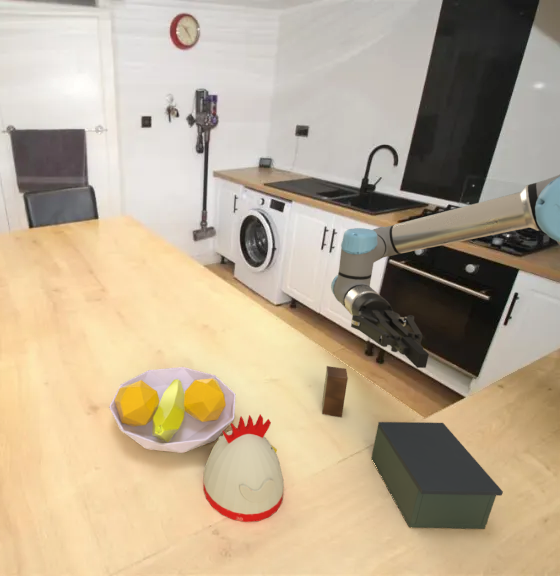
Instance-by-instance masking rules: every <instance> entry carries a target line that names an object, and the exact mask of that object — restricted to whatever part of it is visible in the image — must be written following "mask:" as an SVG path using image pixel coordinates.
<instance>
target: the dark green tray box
mask: <svg viewBox="0 0 560 576" xmlns="http://www.w3.org/2000/svg"><path fill="white" fill-rule="evenodd" d="M371 458H372V459H371V461H372V460H373V461H372V463H373V462H374V463H375V465H376V466H375V465H374V466H375V468H376V467H377V468H376V470H377V469H378V470H377V472H378V471H379V472H378V474H379V473H380V474H381V476H382V477H381V476H380V477H381V479H382V478H383V479H382V481H383V480H384V481H383V483H384V482H385V483H384V485H385V484H386V485H387V486H386V485H385V486H386V488H387V487H388V488H387V490H388V489H389V490H388V492H389V491H390V492H391V494H392V495H391V494H390V495H391V497H392V496H393V497H392V499H393V498H394V499H393V501H394V500H395V501H394V502H396V503H397V504H396V503H395V504H396V506H397V505H398V506H397V508H398V507H399V508H398V510H399V509H400V510H399V512H400V511H401V512H400V513H401V515H402V517H403V516H404V517H403V519H404V518H405V519H404V521H405V520H406V521H405V523H406V525H407V526H408V528H411V527H412V528H415V529H416V528H417V529H457V530H458V529H460V530H462V529H463V530H486V527H487V524H488V521H489V518H490V515H491V512H492V510H493V508H494V507H493V506H494V503H495V501H496V497H497V495H446V494H421V492H420V491H419V489H418V488H417V486H416V484H415V483H414V481H413V480H412V478H411V477H410V475H409V474H408V472H407V470H406V469H405V467H404V466H403V464H402V463H401V461H400V459H399V458H398V456H397V455H396V453H395V452H394V450H393V448H392V447H391V445H390V444H389V442H388V441H387V439H386V437H385V436H384V434H383V433H382V431H381V430H380V428H379V426H378V425H377V427H376V431H375V438H374V443H373V448H372V454H371ZM374 463H373V464H374ZM380 474H379V475H380ZM390 492H389V493H390Z"/></svg>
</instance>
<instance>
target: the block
mask: <svg viewBox="0 0 560 576" xmlns="http://www.w3.org/2000/svg"><path fill="white" fill-rule="evenodd" d="M348 379H349V378H348V370H347V368H344V367H337V366H329V365H326V372H325V377H324V386H323V394H322V395H323V396H322V401H321V410H322V415H325V416H331V417H336V418H343V414H344V413H343V412H344V405H345V399H346V393H347V385H348Z"/></svg>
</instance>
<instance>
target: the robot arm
mask: <svg viewBox="0 0 560 576" xmlns="http://www.w3.org/2000/svg"><path fill="white" fill-rule="evenodd" d="M528 228H531V229H532V230H534V231H536V232H537V231H538V232H539V231H542V232H543V233H545V234H546V235H547V237H549V238H551V240H554V241H556V242H557V244H558V246H560V174H557V175H555V176H553V177H550V178H546V179H544V180H541V181H537V182H534V183H529V184H527V185H525V186H524V188H523V189H522V190H521V191H518V192H515V193H511V194H507V195H503V196H499V197H495V198H492V199H488V200H484V201H479V202H476V203H472V204H467V205H465V206H460V207H457V208H454V209H450V210H445V211H442V212H438V213H434V214H430V215H427V216H423V217H419V218H415V219H411V220H407V221H403V222H399V223H396V224H393V225H387V226H381V227H376V228H374V229H370V228H364V227H363V228H362V227H354V228H348V229H346V230H345V231H344V232H343V237H342V240H341V244H340V248H341V249H340V256H339V257H340V258H339V264H338V265H339V266H338V273H337V274H336V276H335V277H334V278H333V280H332V281H331V285H330V288H331V292H332V294H333V296H334V297H335V300H336V301H338V302H339V303H340V304H341V305H342V306H343V307H344V308H345V309H346V311H347V312H348V313H349V314H350V315H351V322H350V323H351V324H350V328H353V329H355V330H357V331H359V332H361V333H362V334H363V335H365V336H366V337H367V338H369V339H370V340H372V341H373V342H375V343H376V344H377V345H379V346H381V347H382V348H383V347H384V348H386V347H388V346H390V347H391V348H390V351H391V352H393V353H398V352H399V354H400V355H403V356H405V357H406V358H407V359H408V360H409V361H410V362H411V363H412V364H413V365H414V367H416V368H417V369H426V368H427V365H428V361H429V360H428V359H429V355H430V353H429V352H427V351H426V350H425V349H424V346H423V345H422V344H421V343H422V339H423V333H422V332H421V330H420V328H419V327H418V325H417V324H416V322H415V316H414V315H411V314H409V315H408V314H407V316H404V317H403V316H401V315H400V314H399V313H398V312H395V311H394V310H393V308H392V305H391V304H390V303H389V301H388V300H386V298H384V297H383V296H382V295H380V293H378V292H377V291H376V290H375V289H374V288H372V287H371V280H372V275H373V269H374V263H376V262H377V261H380V260H381V259H383V258H387V257H392V256H396V255H401V254H405V253H410V252H415V251H419V250H424V249H430V248H435V247H440V246H445V245H450V244H454V243H459V242H465V241H470V240H473V239H478V238H479V239H480V238H484V237H489V236H494V235H499V234H504V233H508V232H513V231H519V230H524V229H528Z"/></svg>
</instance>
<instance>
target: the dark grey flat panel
mask: <svg viewBox="0 0 560 576" xmlns="http://www.w3.org/2000/svg"><path fill="white" fill-rule="evenodd" d="M378 426H379V428H380V430H381V431H382V433H383V434H384V436H385V437H386V439H387V441H388V442H389V444H390V445H391V447H392V448H393V450H394V452H395V453H396V455H397V456H398V458H399V459H400V461H401V463H402V464H403V466H404V467H405V469H406V470H407V472H408V474H409V475H410V477H411V478H412V480H413V481H414V483H415V484H416V486H417V488H418V489H419V491H420V492H421V494H446V495H496V496H503V492H504V491H503V490H502V489H501V488H500V487H499V485H498V484H497V483H496V482H495V481H494V480H493V479H492V477H491V476H490V475H489V474H488V473H487V472H486V470H485V469H484V468H483V467H482V465H480V464H479V462H478V461H477V460H476V459H475V457H474V456H472V454H471V453H470V452H469V451H468V450H467V448H466V447H465V446H464V445H463V444H462V442H460V440H459V439H458V438H457V437H456V436H455V434H453V432H452V431H451V430H450V429H449V428H448V426H446V424H445V423H444V422H421V421H420V422H415V421H413V422H410V421H397V422H396V421H378V422H377V427H378Z"/></svg>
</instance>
